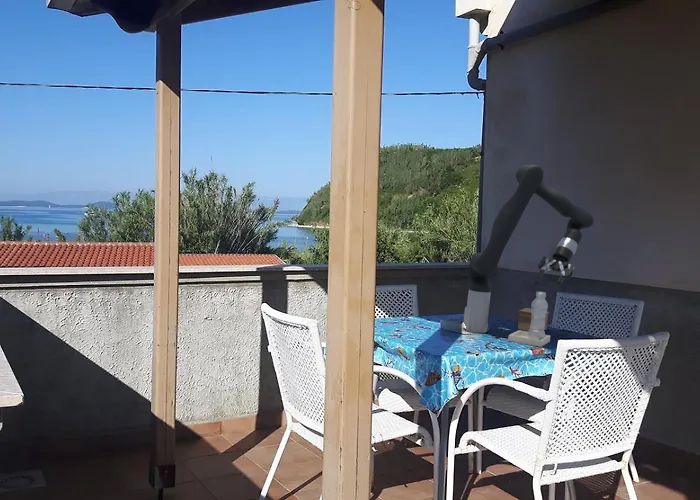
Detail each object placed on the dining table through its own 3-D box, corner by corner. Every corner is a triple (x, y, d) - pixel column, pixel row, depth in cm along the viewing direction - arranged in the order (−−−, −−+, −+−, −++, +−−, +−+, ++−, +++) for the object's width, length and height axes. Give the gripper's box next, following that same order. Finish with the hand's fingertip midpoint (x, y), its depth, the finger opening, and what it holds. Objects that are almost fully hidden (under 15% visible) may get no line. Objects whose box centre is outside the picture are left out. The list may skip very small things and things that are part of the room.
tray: (540, 347, 264) (541, 341, 264) (508, 341, 270) (508, 335, 270) (549, 341, 278) (550, 335, 278) (518, 335, 284) (519, 330, 284)
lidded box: (540, 333, 296) (543, 312, 296) (516, 328, 302) (518, 308, 301) (547, 329, 308) (549, 309, 307) (523, 325, 313) (526, 305, 312)
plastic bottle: (547, 343, 271) (553, 293, 270) (532, 342, 269) (538, 293, 268) (538, 339, 277) (544, 291, 276) (524, 339, 275) (529, 290, 274)
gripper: (547, 241, 288) (531, 271, 282) (579, 249, 279) (563, 281, 273) (551, 251, 293) (534, 281, 288) (582, 260, 284) (566, 290, 279)
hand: (548, 281), depth 280 cm, fingers open, 8 cm apart
